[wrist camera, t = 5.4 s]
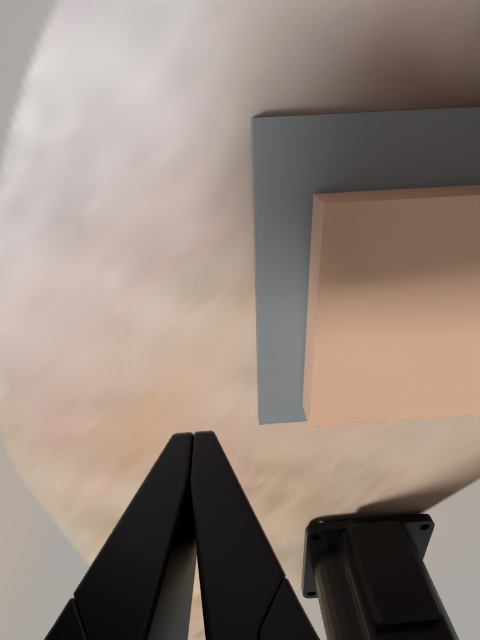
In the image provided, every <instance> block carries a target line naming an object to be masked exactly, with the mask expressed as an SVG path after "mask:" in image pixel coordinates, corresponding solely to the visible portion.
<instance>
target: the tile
mask: <svg viewBox="0 0 480 640" xmlns="http://www.w3.org/2000/svg"><path fill="white" fill-rule="evenodd" d="M302 405H303V409H304V412H305V415H306V419H307V422H308V425H309V428H314V427H326V426H339V425H351V424H364V423H377V422H389V421H402V420H414V419H427V418H439V417H452V416H465V415H477V414H480V185H464V186H446V187H428V188H411V189H393V190H375V191H358V192H340V193H322V194H313V210H312V230H311V249H310V268H309V288H308V307H307V326H306V346H305V365H304V384H303V404H302Z"/></svg>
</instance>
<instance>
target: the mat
mask: <svg viewBox="0 0 480 640" xmlns="http://www.w3.org/2000/svg"><path fill="white" fill-rule="evenodd" d="M252 157H253V201H254V245H255V289H256V333H257V377H258V418H259V425H261V424H274V423H287V422H300V421H307V419H306V415H305V412H304V409H303V405H302V404H303V384H304V365H305V346H306V326H307V307H308V288H309V268H310V249H311V230H312V210H313V194H322V193H340V192H358V191H375V190H393V189H411V188H428V187H446V186H464V185H480V107H460V108H439V109H419V110H398V111H378V112H357V113H337V114H316V115H296V116H275V117H255V118H252Z"/></svg>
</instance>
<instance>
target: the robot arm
mask: <svg viewBox="0 0 480 640" xmlns="http://www.w3.org/2000/svg"><path fill="white" fill-rule="evenodd" d="M433 528H434V523H433V521H432V519H431V517H430V515H428V514H414V515H403V516H391V517H380V518H369V519H358V520H346V521H335V522H324V523H314V524H311V525H309V526H308V527H307V528H306V530H305V543H304V557H303V571H302V585H301V588H302V593H303V596H304V597H305V598H318V599H319V605H320V609H321V614H322V618H323V623H324V628H325V632H326V637H327V640H459V638H458V636H457V634H456V632H455V630H454V627H453V625H452V623H451V621H450V619H449V617H448V614H447V612H446V611H445V608H444V606H443V603H442V601H441V599H440V597H439V596H438V593H437V590H436V588H435V586H434V584H433V582H432V580H431V578H430V575H429V573H428V571H427V569H426V566H425V564H424V562H423V558H424V555H425V552H426V549H427V546H428V543H429V540H430V537H431V534H432V532H433ZM196 556H197V561H198V570H199V580H200V589H201V599H202V609H203V618H204V628H205V637H206V640H320V639H319V637H318V636H317V634H316V632H315V630H314V628H313V626H312V624H311V623H310V621H309V619H308V617H307V615H306V613H305V611H304V609H303V608H302V606H301V604H300V602H299V600H298V598H297V596H296V594H295V592H294V590H293V588H292V586H291V584H290V582H289V580H288V579H287V578H285V573H284V571H283V569H282V567H281V565H280V563H279V561H278V559H277V557H276V555H275V553H274V551H273V549H272V547H271V545H270V543H269V541H268V539H267V537H266V535H265V533H264V531H263V529H262V527H261V525H260V523H259V521H258V519H257V517H256V515H255V513H254V511H253V509H252V507H251V505H250V503H249V501H248V499H247V497H246V495H245V493H244V491H243V489H242V487H241V485H240V483H239V481H238V479H237V477H236V475H235V473H234V471H233V469H232V467H231V465H230V463H229V461H228V459H227V457H226V455H225V453H224V451H223V449H222V447H221V445H220V443H219V441H218V439H217V437H216V435H215V433H214V432H213V431H199V432H195V433H194V435H193V433H191V432H186V433H175V434H173V435H172V437H171V438H170V440H169V441H168V443H167V445H166V446H165V448H164V449H163V451H162V453H161V454H160V456H159V457H158V459H157V461H156V462H155V464H154V465H153V467H152V469H151V470H150V472H149V473H148V475H147V477H146V478H145V480H144V481H143V483H142V485H141V486H140V488H139V489H138V491H137V493H136V494H135V496H134V497H133V499H132V501H131V502H130V504H129V505H128V507H127V509H126V510H125V512H124V513H123V515H122V517H121V518H120V520H119V521H118V523H117V525H116V526H115V528H114V529H113V531H112V533H111V534H110V536H109V537H108V539H107V541H106V542H105V544H104V546H103V547H102V549H101V550H100V552H99V554H98V555H97V557H96V558H95V560H94V562H93V563H92V565H91V566H90V568H89V570H88V571H87V573H86V574H85V576H84V578H83V579H82V581H81V582H80V584H79V586H78V587H77V589H76V590H75V592H74V598H71V599H70V600H69V601H68V603H67V604H66V606H65V608H64V609H63V611H62V612H61V614H60V616H59V617H58V619H57V620H56V622H55V624H54V625H53V627H52V628H51V630H50V631H49V633H48V634H47V636H46V637H45V639H44V640H188V631H189V622H190V612H191V603H192V594H193V584H194V575H195V566H196Z"/></svg>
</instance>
